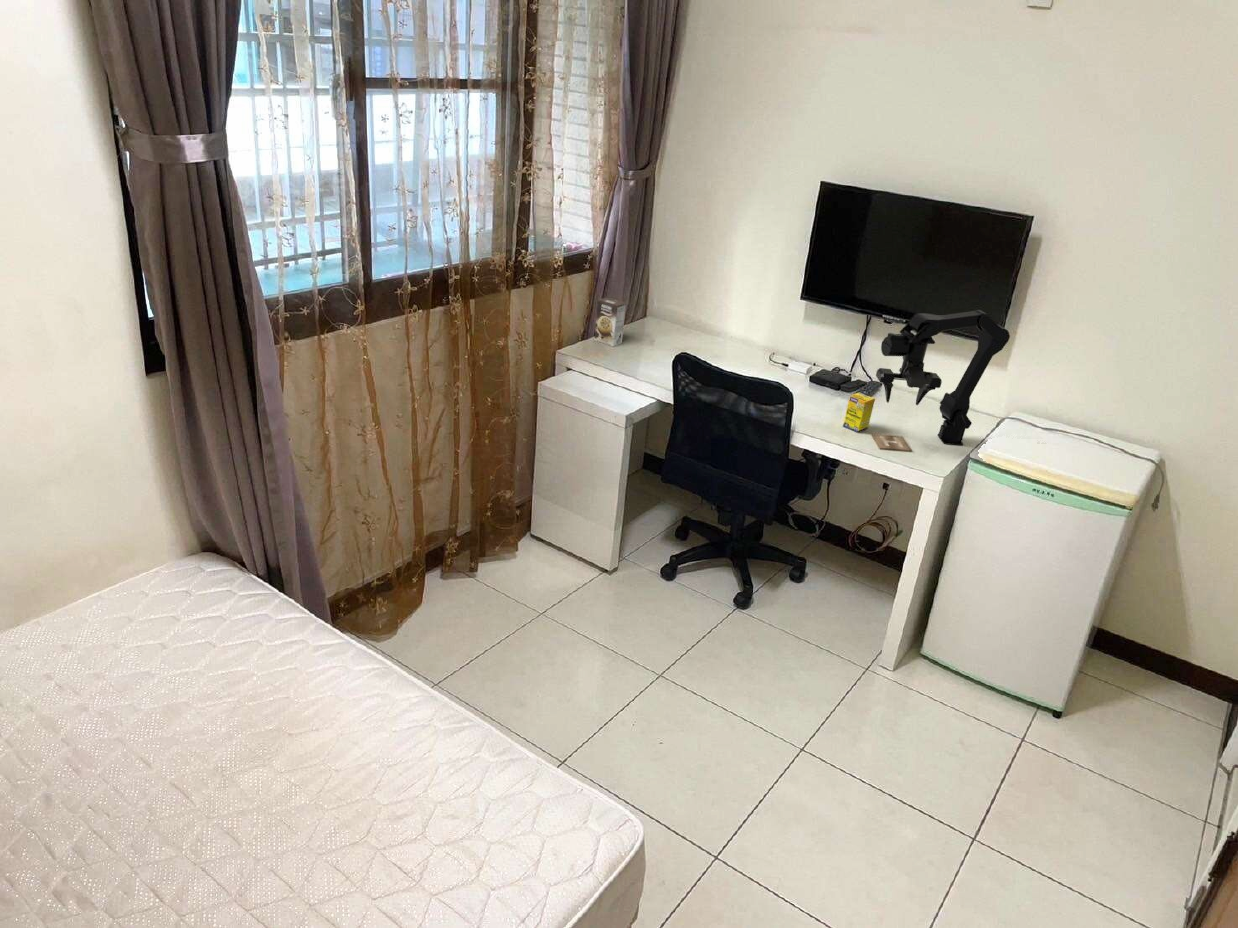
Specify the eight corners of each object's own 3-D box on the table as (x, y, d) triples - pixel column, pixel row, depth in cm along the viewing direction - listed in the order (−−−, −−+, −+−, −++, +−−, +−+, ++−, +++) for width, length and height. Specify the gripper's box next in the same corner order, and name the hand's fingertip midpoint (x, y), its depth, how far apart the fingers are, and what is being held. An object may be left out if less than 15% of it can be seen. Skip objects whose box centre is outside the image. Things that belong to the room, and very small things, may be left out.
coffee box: (593, 340, 339) (597, 299, 332) (603, 336, 344) (607, 296, 336) (613, 347, 335) (616, 305, 327) (622, 343, 339) (626, 302, 332)
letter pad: (902, 438, 284) (902, 436, 283) (911, 452, 275) (911, 450, 275) (871, 435, 283) (871, 433, 283) (879, 449, 274) (879, 447, 274)
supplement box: (842, 426, 287) (849, 395, 282) (852, 422, 291) (859, 391, 286) (858, 433, 284) (865, 402, 279) (868, 428, 288) (875, 398, 283)
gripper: (891, 362, 260) (878, 411, 268) (953, 368, 261) (939, 416, 268) (881, 349, 270) (869, 396, 277) (941, 355, 271) (928, 402, 278)
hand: (902, 403), depth 275 cm, fingers open, 9 cm apart
